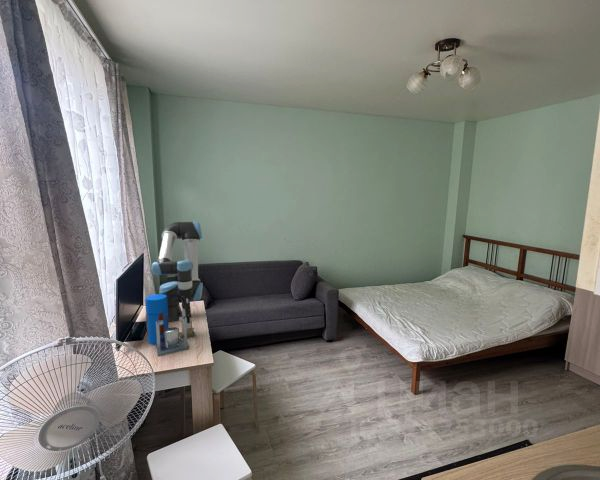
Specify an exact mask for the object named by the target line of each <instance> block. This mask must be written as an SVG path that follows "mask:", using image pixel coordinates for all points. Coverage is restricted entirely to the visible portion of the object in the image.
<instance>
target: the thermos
mask: <svg viewBox="0 0 600 480" xmlns="http://www.w3.org/2000/svg"><path fill="white" fill-rule="evenodd" d="M145 319H146V335H147V342H148V344H149V345H154V346H156V343H157V335H156V321H160V320H163V324H161V325H159V332H160V342H164V341H165V332H164V331H165V330H166V329H168V328H170V326H169V322H168V306H167V296H166V295H164V294H159V293H155V294H151V295H148V296H146V297H145Z"/></svg>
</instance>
